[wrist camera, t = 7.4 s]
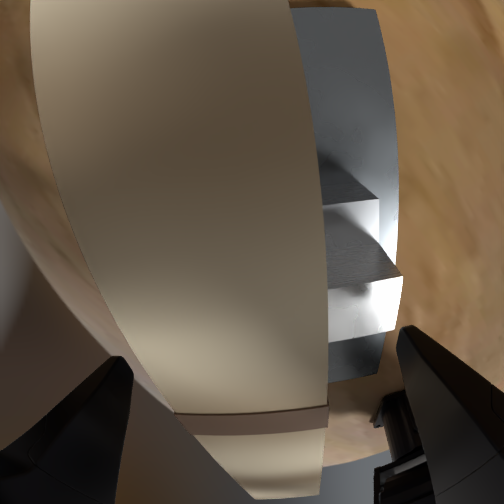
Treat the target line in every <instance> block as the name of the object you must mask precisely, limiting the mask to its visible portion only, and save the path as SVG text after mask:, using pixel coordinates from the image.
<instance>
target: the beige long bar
mask: <svg viewBox="0 0 504 504" xmlns="http://www.w3.org/2000/svg"><path fill="white" fill-rule="evenodd" d="M30 42H31V58H32V69H33V78H34V86H35V93H36V100H37V106H38V112H39V117H40V122H41V127H42V132H43V136H44V140H45V145H46V149H47V153H48V157H49V160H50V164H51V168H52V171H53V175H54V178H55V181H56V184H57V188H58V191H59V194H60V197H61V200H62V203H63V206H64V209H65V211H66V214H67V217H68V220H69V222H70V225H71V228H72V230H73V233H74V235H75V238H76V240H77V243H78V245H79V247H80V250H81V252H82V254H83V257H84V259H85V261H86V263H87V266H88V268H89V270H90V272H91V274H92V276H93V279H94V281H95V283H96V285H97V287H98V289H99V291H100V293H101V295H102V297H103V299H104V301H105V303H106V305H107V306H108V308H109V310H110V312H111V314H112V316H113V318H114V319H115V321H116V323H117V325H118V327H119V328H120V330H121V332H122V333H123V335H124V337H125V339H126V340H127V342H128V344H129V345H130V347H131V349H132V350H133V352H134V353H135V355H136V357H137V358H138V360H139V361H140V363H141V364H142V366H143V367H144V369H145V370H146V372H147V373H148V375H149V376H150V378H151V379H152V381H153V382H154V384H155V385H156V387H157V388H158V389H159V391H160V392H161V394H162V395H163V396H164V398H165V399H166V401H167V402H168V403H169V405H170V406H171V407H172V409H173V410H174V411H175V412H174V416H175V417H176V418H177V419H178V421H179V422H180V423H181V424H182V425H183V426H184V428H185V429H186V430H187V431H188V433H189V434H190V435H194V436H195V437H196V438H197V440H198V441H199V442H200V443H201V444H202V445H203V447H204V448H205V449H206V450H207V451H208V452H209V453H210V454H211V455H212V457H213V458H214V459H215V460H216V461H217V462H218V463H219V464H220V465H221V466H222V467H223V468H224V469H225V470H226V472H227V473H228V474H230V475H231V477H232V478H233V479H234V480H235V481H237V483H239V485H241V486H242V487H243V488H244V489H245V490H246V491H247V492H248V493H249V494H250V495H251V496H252V497H253V498H254V499H278V498H293V497H303V496H312V495H318V494H319V489H320V480H321V473H322V463H323V453H324V441H325V428H327V427H328V417H329V402H328V396H327V389H328V286H327V263H326V246H325V231H324V218H323V206H322V195H321V185H320V176H319V167H318V159H317V151H316V143H315V136H314V129H313V122H312V115H311V109H310V103H309V97H308V91H307V85H306V80H305V74H304V69H303V64H302V59H301V54H300V49H299V45H298V40H297V35H296V31H295V27H294V22H293V18H292V14H291V10H290V6H289V2H288V0H31V3H30Z"/></svg>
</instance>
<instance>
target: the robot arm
mask: <svg viewBox="0 0 504 504" xmlns="http://www.w3.org/2000/svg"><path fill="white" fill-rule="evenodd" d="M396 351H397V356H398V360H399V364H400V368H401V372H402V376H403V381H404V385H405V390H406V391H403V392H399V393H396V394H392V395H388V396H386V397H384V398H383V399H382V401H381V404H380V407H379V410H378V413H377V415H376V418H375V421H374V423H373V426H374V428H379V427H383V426H384V429H385V433H386V437H387V441H388V445H389V449H390V453H391V458H392V463H389V464H387V465H385V466H382V467H377V468H375V469H374V504H504V393H503V392H502V391H501V390H499V389H498V388H497V387H495V386H494V385H493V384H491V383H490V382H489V381H488V380H486V379H485V378H484V377H483V376H481V375H480V374H479V373H477V372H476V371H475V370H473V369H472V368H471V367H470V366H468V365H467V364H466V363H464V362H463V361H462V360H460V359H459V358H458V357H456V356H455V355H454V354H452V353H451V352H450V351H448V350H447V349H446V348H444V347H443V346H442V345H440V344H439V343H437V342H436V341H435V340H433V339H432V338H431V337H429V336H428V335H427V334H425V333H424V332H422V331H421V330H420V329H418V328H417V327H415V326H414V325H409V326H405V327H402V328H401V329H400V331H399V336H398V340H397V344H396ZM133 379H134V374H133V371H132V369H131V368H130V366H129V365H128V363H127V362H126V360H125V359H124V358H123V357H122V356H111V357H110V358H109V359H107V360H106V361H105V362H104V363H103V364H102V365H101V366H100V367H98V368H97V369H96V370H95V371H94V372H93V373H92V374H91V375H89V376H88V377H87V378H86V379H85V380H84V381H83V382H82V383H81V384H79V385H78V386H77V387H76V388H75V389H74V390H73V391H72V392H70V393H69V394H68V395H67V396H66V397H65V398H64V399H63V400H62V401H60V403H58V404H57V405H56V406H55V407H54V408H53V409H52V410H51V411H50V412H48V414H47V415H45V416H44V417H43V418H42V419H41V420H40V421H38V422H37V423H36V424H35V425H34V426H33V427H32V428H30V429H29V430H28V431H27V432H25V433H24V434H23V435H22V436H20V437H19V438H18V439H16V440H15V441H14V442H12V443H11V444H10V445H8V446H7V447H6V448H4V449H3V450H1V451H0V504H115V497H116V489H117V482H118V475H119V469H120V462H121V456H122V451H123V445H124V440H125V434H126V429H127V424H128V419H129V414H130V405H131V396H132V387H133Z"/></svg>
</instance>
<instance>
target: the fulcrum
mask: <svg viewBox="0 0 504 504" xmlns="http://www.w3.org/2000/svg"><path fill="white" fill-rule="evenodd" d="M290 10H291V14H292V18H293V22H294V27H295V31H296V35H297V40H298V45H299V49H300V54H301V59H302V64H303V69H304V74H305V80H306V85H307V91H308V97H309V103H310V109H311V115H312V122H313V129H314V136H315V143H316V151H317V159H318V167H319V176H320V185H321V195H322V206H323V218H324V231H325V246H326V263H327V286H328V383H331V382H337V381H343V380H348V379H353V378H358V377H363V376H368V375H372V374H377V372H378V367H379V363H380V358H381V354H382V349H383V344H384V339H385V334H386V331H391V330H394V328H395V323H396V318H397V313H398V307H399V301H400V295H401V288H402V281H403V276H402V274H401V273H400V271H399V270H398V269H397V267H396V266H395V260H396V248H397V232H398V203H399V177H398V149H397V133H396V122H395V111H394V103H393V95H392V87H391V81H390V74H389V68H388V63H387V57H386V52H385V47H384V43H383V38H382V34H381V30H380V25H379V21H378V18H377V14H376V10H374V9H363V8H345V7H306V8H290Z"/></svg>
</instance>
